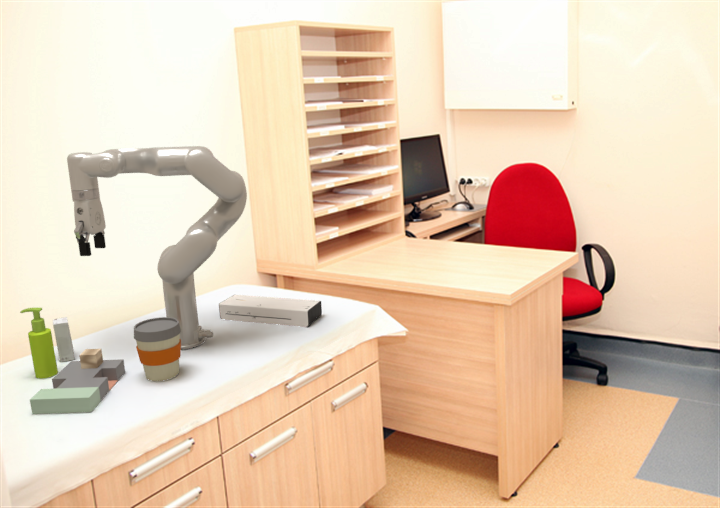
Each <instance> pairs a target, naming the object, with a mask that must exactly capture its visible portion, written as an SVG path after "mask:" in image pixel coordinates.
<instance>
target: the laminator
mask: <svg viewBox="0 0 720 508" xmlns="http://www.w3.org/2000/svg"><path fill="white" fill-rule="evenodd" d="M322 309H323V308H322V301H321V300H315V299H314V300H313V299H300V298H285V297H284V298H283V297H282V298H281V297H275V296H274V297H272V296H261V295H260V296H258V295H248V294H247V295H245V294H233V295H231V296H229V297H227V298H226V299H224V300H223V301H221V302H219V303H218V311H219V319H220V320H221V319H225V320H224V321H230V320H232V321H233V322H241V321H242V322H241V323H243V322H244V323H253V322H254V323H255V324H264V323H266V324H265V325H267V324H268V325H276V324H278V326H287V325H289V327H298V326H300V327H299V328H309V326H310V325H311V324H313V323H314V322H315V321H317V319H319V318H320V317H322V313H323V311H322ZM279 324H280V325H279Z"/></svg>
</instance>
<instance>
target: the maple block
mask: <svg viewBox="0 0 720 508" xmlns="http://www.w3.org/2000/svg"><path fill="white" fill-rule="evenodd" d="M103 360H104V357H103V351H102V348H86V349H84V350H83V351H82V352H80V354H79V361H80V363H81V369H88V368H98V367H99V366H100V365H101V364H102V363H103Z"/></svg>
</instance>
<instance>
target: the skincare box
mask: <svg viewBox="0 0 720 508" xmlns="http://www.w3.org/2000/svg"><path fill="white" fill-rule="evenodd" d="M52 326H53V332H54V338H55V342H56V346H57V347H56V348H57V352H58V353H57V354H58V358H59V362H60V363H63V362H69V361H70V362H71V361H75V358H76V357H75V351H74V345H73V340H72V336H71V329H70V325H69V321H68V317H67V316H65V317H59V318H58V317H57V318H53V319H52Z"/></svg>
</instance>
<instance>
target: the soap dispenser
mask: <svg viewBox="0 0 720 508" xmlns="http://www.w3.org/2000/svg"><path fill="white" fill-rule="evenodd" d="M42 310H43V307H28V308H24V309H22V310H21V311H20V312H19V313H20V314H25V313H32V317H33V318H32V319H31V320H30V324H31V330H30V331H29V332H28V333H27V334H28V337H27V338H28V341H29V347H30V353H31V354H30V355H31V359H32V365H33V370H34V377H35V378H36V379H43V380H44V379H49V378H53V377H55V376H56V375H57V374H58V373H59V371H58V365H57V359H56V353H55V347H54V340H53V335H52V334H53V333H52V330H51V328H49V327H46V323H45V318H44V317H41V312H42Z"/></svg>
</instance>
